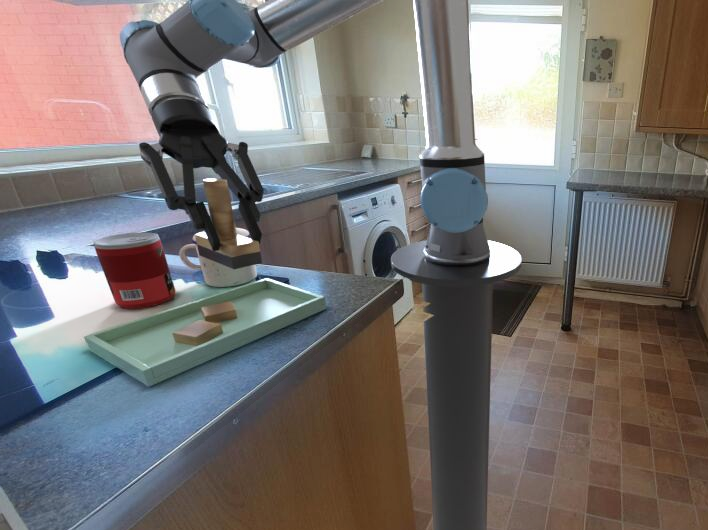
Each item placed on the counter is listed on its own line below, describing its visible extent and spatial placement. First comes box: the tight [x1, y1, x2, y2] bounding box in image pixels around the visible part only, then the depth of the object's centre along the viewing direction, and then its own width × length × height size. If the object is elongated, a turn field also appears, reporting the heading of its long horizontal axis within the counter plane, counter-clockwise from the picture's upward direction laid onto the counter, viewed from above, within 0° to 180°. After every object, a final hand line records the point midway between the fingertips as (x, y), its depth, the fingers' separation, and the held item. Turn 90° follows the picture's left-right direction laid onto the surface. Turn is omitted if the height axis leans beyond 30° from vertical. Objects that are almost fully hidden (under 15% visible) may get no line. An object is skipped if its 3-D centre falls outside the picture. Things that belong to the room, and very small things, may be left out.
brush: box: [194, 178, 263, 269], centre depth 60 cm, size 4×10×12 cm, turn 59°
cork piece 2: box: [201, 301, 238, 323], centre depth 64 cm, size 4×4×2 cm
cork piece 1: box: [172, 320, 223, 346], centre depth 58 cm, size 4×4×2 cm
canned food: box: [93, 231, 176, 310], centre depth 68 cm, size 8×8×11 cm
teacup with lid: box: [178, 227, 258, 288], centre depth 77 cm, size 12×9×12 cm
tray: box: [83, 277, 327, 388], centre depth 62 cm, size 26×16×2 cm, turn 152°
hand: (237, 242), depth 59 cm, fingers closed on brush, 5 cm apart
